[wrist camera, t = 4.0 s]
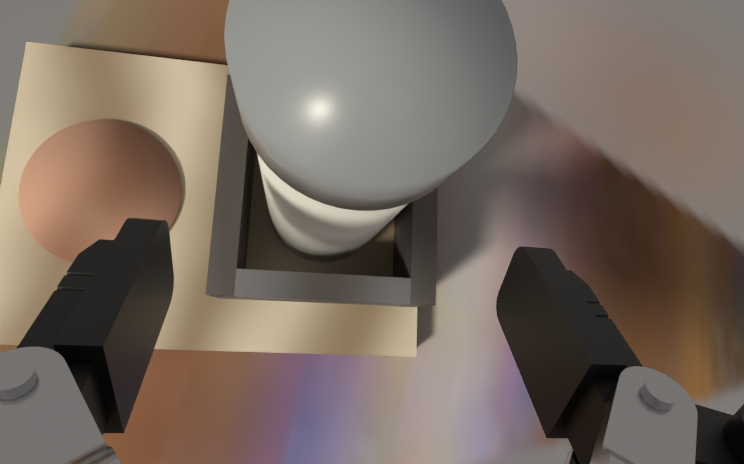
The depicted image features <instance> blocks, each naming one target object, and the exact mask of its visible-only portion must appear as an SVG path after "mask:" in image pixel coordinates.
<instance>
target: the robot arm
mask: <svg viewBox="0 0 744 464" xmlns="http://www.w3.org/2000/svg"><path fill="white" fill-rule="evenodd" d="M173 288H174V271H173V262H172V253H171V243H170V234H169V226H168V223H167V221H166V220H155V219H141V218H128V219H126V221H125V222H124V224H123V226H122V227H121V229H120V231H119V233H118V234H117V236H116V238H115V239H114V240H103V239H99V240H98V241H96V242H95V243H93V244H92V245H90V246H89V247H88V248H86V249H85V250H83V251H82V252H81V253H79V254H78V255H77V257H76V258H75V260H74V262H73V263H72V265H71V266H70V268H69V269H68V271H67V275H64V277H63V278H62V280H61V281H60V283H59V284H58V286H57V290H54V292H53V293H52V295H51V296H50V298H49V299H48V301H47V303H46V304H45V306H44V307H43V309H42V310H41V312H40V313H39V315H38V316H37V318H36V319H35V321H34V322H33V324H32V325H31V327H30V328H29V330H28V331H27V333H26V334H25V336H24V337H23V339H22V341H21V342H20V344H19V345H18V347H17V348H16V349H13V350H9V351H6V352H3V353H1V354H0V464H121V462H120V460H119V458H118V456H117V455H116V453H115V451H114V450H113V448H112V447H109V448H108V446H107V445H106V443H105V441H104V439H103V437H102V435H103V433H124V431H125V428H126V425H127V423H128V420H129V417H130V414H131V411H132V409H133V406H134V403H135V400H136V398H137V395H138V392H139V389H140V386H141V384H142V381H143V378H144V375H145V373H146V370H147V367H148V364H149V362H150V359H151V356H152V353H153V350H154V348H155V345H156V342H157V339H158V337H159V334H160V331H161V328H162V325H163V323H164V320H165V317H166V314H167V312H168V309H169V306H170V303H171V300H172V295H173ZM496 309H497V316H498V320H499V322H500V325H501V327H502V330H503V332H504V335H505V337H506V339H507V342H508V344H509V347H510V349H511V352H512V354H513V357H514V359H515V361H516V364H517V366H518V369H519V371H520V374H521V376H522V379H523V381H524V384H525V386H526V388H527V391H528V393H529V396H530V398H531V401H532V403H533V406H534V408H535V410H536V413H537V415H538V418H539V420H540V423H541V425H542V428H543V430H544V432H545V435H546V437H547V438H568V439H569V441H570V444H571V446H572V448H571V449H570V451H569V452H568V454H567V456H566V459H565V463H564V464H744V405H743V406H742V407H741V408H740V409H739V410H738V411H737V412H736V413H735V415H730V414H726V413H723V412H719V411H716V410H713V409H709V408H706V407H703V406H699V405H696V404H694V402H693V400H692V398H691V397H690V395H689V394H688V393H687V392H686V391H685V390H684V389H683V388H682V387H681V386H680V385H679V384H678V383H677V382H675V381H674V380H673V379H671V378H670V377H668V376H666V375H664V374H663V373H661V372H658V371H656V370H654V369H650V368H647V367H643V366H642V365H641V363H640V362H639V360H638V359H637V357H636V356H635V354H634V353H633V351H632V350H631V348H630V347H629V345H628V344H627V342H626V341H625V339H624V338H623V336H622V335H621V333H620V332H619V330H618V329H617V327H616V326H615V324H614V323H613V321H612V320H611V319H609V318H608V316H609V315H608V314H607V312H606V311H605V309H604V308H603V306H602V305H599V300H598V299H597V297H596V296H595V294H594V293H593V291H592V290H591V288H590V287H589V285H587V284H586V283H585V282H584V281H583V280H582V279H580V278H579V277H578V276H577V275H576V274H574V273H573V272H572V271H569V270H566V269H565V267H564V266H563V264H562V262H561V261H560V259H559V258H558V256H557V255H556V253H555V252H554V251H553V250H552V249H548V248H534V247H519V248H517V249H516V251H515V252H514V255H513V257H512V260H511V262H510V265H509V267H508V270H507V273H506V275H505V278H504V280H503V283H502V285H501V288H500V290H499V293H498V297H497V304H496Z"/></svg>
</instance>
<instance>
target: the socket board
mask: <svg viewBox="0 0 744 464" xmlns="http://www.w3.org/2000/svg"><path fill="white" fill-rule="evenodd" d="M128 218H141V219H155V220H166V221H167V223H168V226H169V234H170V243H171V253H172V262H173V271H174V288H173V295H172V300H171V303H170V306H169V309H168V312H167V314H166V317H165V320H164V323H163V325H162V328H161V331H160V334H159V337H158V339H157V342H156V345H155V348H154V349H173V350H207V351H241V352H275V353H309V354H343V355H377V356H411V357H416V347H417V307H421V306H433V305H435V293H436V233H437V188H436V189H434V190H433V191H432V192H430V193H428V194H427V195H425V196H423V197H421V198H420V199H418V200H415V201H413V202H410V203H408V204H407V205H406V206H405V207H404V208H403V209H402V210H401V211H400V212H399V213H398V214H397V215H396V216H395V217H394V218H393V219H392V220H391V221H390V222H389V223H388V224H386V225H385V226H384V227H383V228H382V229H381V230H380V231H379V232H378V233H377V234H376V235H375V236H374V237H373V238H372V239H371V240H370V241H369V242H368V243H367V244H366V245H365V246H363V247H362V248H361V249H360V250H359V251H358V252H356V253H355V254H353V255H352V256H350V257H348V258H345V259H343V260H340V261H336V262H329V263H321V262H313V261H310V260H306V259H304V258H301V257H299V256H297V255H296V254H294V253H293V252H291V251H290V250H289V249H287V248H286V247H285V246H284V245H283V244H282V242H281V241H280V240H279V238H278V237H277V235H276V233H275V232H274V229H273V227H272V224H271V220H270V216H269V211H268V206H267V201H266V195H265V190H264V185H263V180H262V175H261V170H260V165H259V160H258V155H257V152H256V150H255V149H254V147H253V145H252V144H251V142H250V140H249V138H248V136H247V133H246V131H245V129H244V126H243V124H242V120H241V116H240V112H239V109H238V105H237V100H236V96H235V92H234V88H233V84H232V80H231V76H230V72H229V68H228V65H221V64H212V63H204V62H195V61H187V60H178V59H169V58H161V57H152V56H144V55H135V54H127V53H118V52H109V51H101V50H92V49H84V48H75V47H67V46H58V45H49V44H41V43H32V42H27V43H26V49H25V55H24V60H23V65H22V71H21V76H20V82H19V87H18V93H17V98H16V104H15V109H14V115H13V120H12V126H11V131H10V137H9V143H8V148H7V154H6V159H5V165H4V170H3V176H2V181H1V187H0V344H3V345H19V344H20V342H21V341H22V339H23V337H24V336H25V334H26V333H27V331H28V330H29V328H30V327H31V325H32V324H33V322H34V321H35V319H36V318H37V316H38V315H39V313H40V312H41V310H42V309H43V307H44V306H45V304H46V303H47V301H48V299H49V298H50V296H51V295H52V293H53V292H54V290H57V286H58V284H59V283H60V281H61V280H62V278H63V277H64V275H67V271H68V269H69V268H70V266H71V265H72V263H73V262H74V260H75V258H76V257H77V255H78V254H79V253H81V252H82V251H83V250H85V249H86V248H88V247H89V246H90V245H92V244H93V243H95V242H96V241H98V240H99V239H103V240H114V239H115V238H116V236H117V234H118V233H119V231H120V229H121V227H122V226H123V224H124V222H125V221H126V219H128Z"/></svg>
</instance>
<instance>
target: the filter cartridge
mask: <svg viewBox="0 0 744 464" xmlns="http://www.w3.org/2000/svg"><path fill="white" fill-rule="evenodd" d="M225 50H226V58H227V64H228V68H229V72H230V76H231V80H232V84H233V88H234V92H235V96H236V100H237V105H238V109H239V112H240V116H241V120H242V124H243V126H244V129H245V131H246V133H247V136H248V138H249V140H250V142H251V144H252V145H253V147H254V149H255V150H256V152H257V155H258V160H259V165H260V170H261V175H262V180H263V185H264V190H265V195H266V201H267V206H268V211H269V216H270V220H271V224H272V227H273V229H274V232H275V233H276V235H277V237H278V238H279V240H280V241H281V242H282V244H283V245H284V246H285V247H286V248H287V249H289V250H290V251H291V252H293V253H294V254H296V255H297V256H299V257H301V258H304V259H306V260H310V261H313V262H321V263H329V262H336V261H340V260H343V259H345V258H348V257H350V256H352V255H353V254H355V253H356V252H358V251H359V250H360V249H361V248H362V247H363V246H365V245H366V244H367V243H368V242H369V241H370V240H371V239H372V238H373V237H374V236H375V235H376V234H377V233H378V232H379V231H380V230H381V229H382V228H383V227H384V226H385V225H386V224H388V223H389V222H390V221H391V220H392V219H393V218H394V217H395V216H396V215H397V214H398V213H399V212H400V211H401V210H402V209H403V208H404V207H405V206H406V205H407V204H408V203H410V202H413V201H415V200H418V199H420V198H421V197H423V196H425V195H427V194H428V193H430V192H432V191H433V190H434V189H436V188H437V187H438V186H440V185H441V184H442V183H443V182H445V181H446V180H447V179H448V178H449V177H450V176H451V175H453V174H454V173H455V172H456V171H457V170H458V169H459V168H461V167H462V166H463V165H464V164H465V163H466V162H467V161H469V160H470V159H471V158H472V157H473V156H474V155H475V154H477V153H478V152H479V151H480V150H481V149H482V147H483V146H484V145H485V144H486V143H487V142H488V141H489V140H490V139H491V137H492V136H493V135H494V133H495V132H496V130H497V129H498V128H499V126H500V124H501V122H502V121H503V119H504V117H505V115H506V113H507V111H508V108H509V105H510V102H511V99H512V96H513V93H514V87H515V82H516V75H517V53H516V42H515V38H514V33H513V28H512V25H511V22H510V19H509V16H508V13H507V10H506V8H505V6H504V4H503V2H502V0H230V2H229V4H228V10H227V15H226V21H225Z"/></svg>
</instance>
